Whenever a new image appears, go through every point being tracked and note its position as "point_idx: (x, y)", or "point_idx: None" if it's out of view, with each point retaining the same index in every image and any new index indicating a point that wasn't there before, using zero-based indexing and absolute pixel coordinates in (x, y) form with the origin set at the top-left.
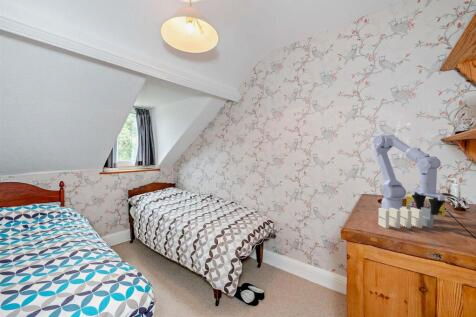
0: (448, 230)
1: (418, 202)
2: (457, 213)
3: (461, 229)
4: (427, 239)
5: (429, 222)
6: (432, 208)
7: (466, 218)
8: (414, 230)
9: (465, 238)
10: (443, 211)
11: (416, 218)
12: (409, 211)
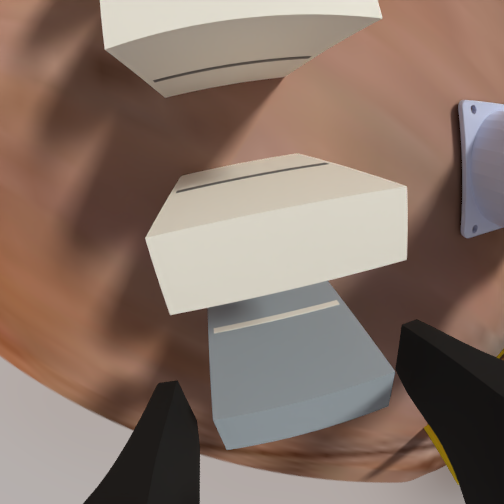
0: (174, 374)
1: (471, 397)
2: (431, 460)
3: (219, 435)
4: None
5: (213, 308)
6: (125, 456)
7: (380, 474)
8: (99, 99)
9: (48, 371)
10: (435, 445)
11: (213, 182)
12: (104, 11)
